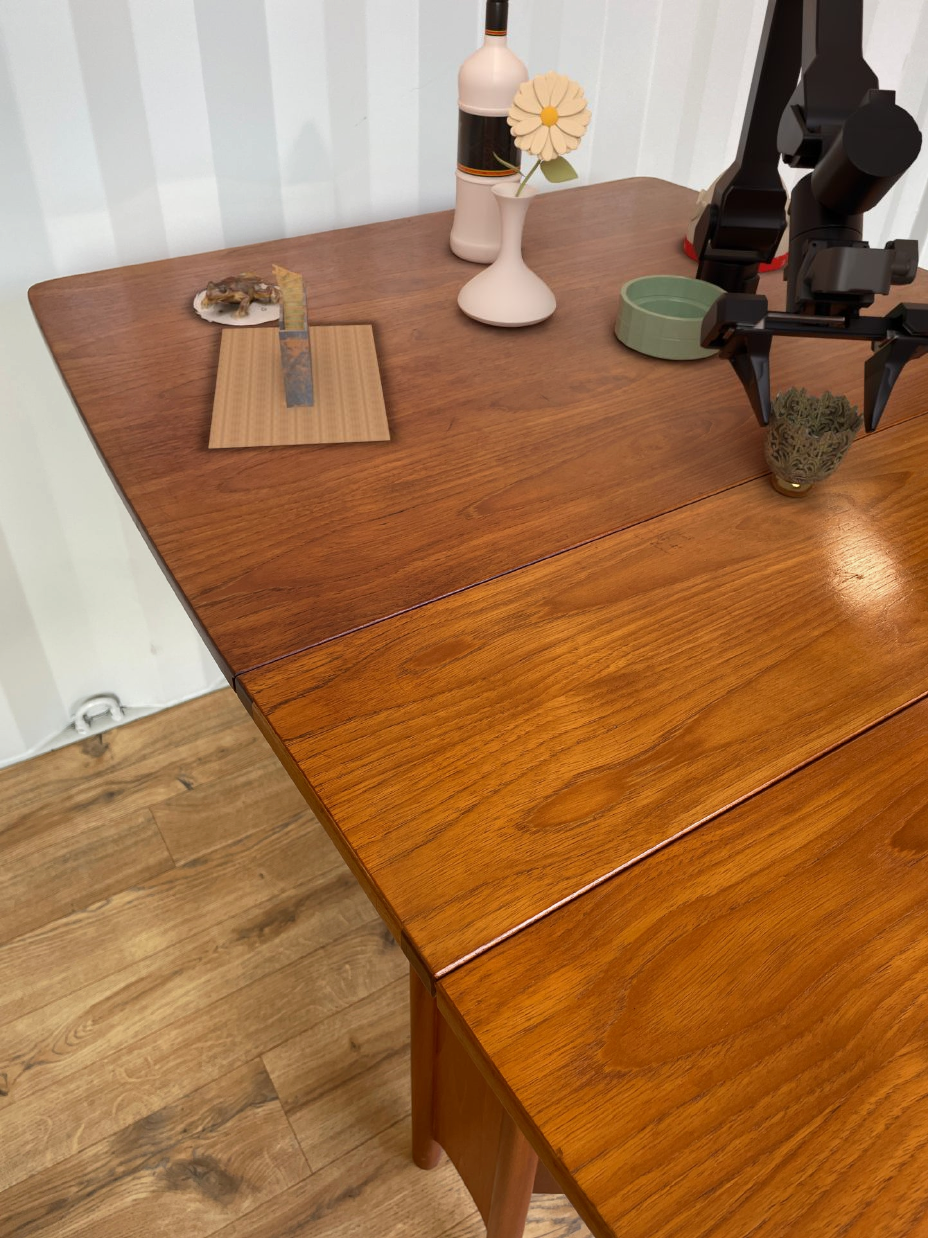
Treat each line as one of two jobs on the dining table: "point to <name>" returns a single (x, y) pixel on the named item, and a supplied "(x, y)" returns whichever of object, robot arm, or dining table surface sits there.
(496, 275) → the flower in vase
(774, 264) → the kitchen timer
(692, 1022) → the dining table surface
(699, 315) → the bowl
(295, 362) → the ruin model on sheet
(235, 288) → the frog figurine
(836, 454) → the cup
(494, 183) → the vodka
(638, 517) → the dining table surface
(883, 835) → the dining table surface
